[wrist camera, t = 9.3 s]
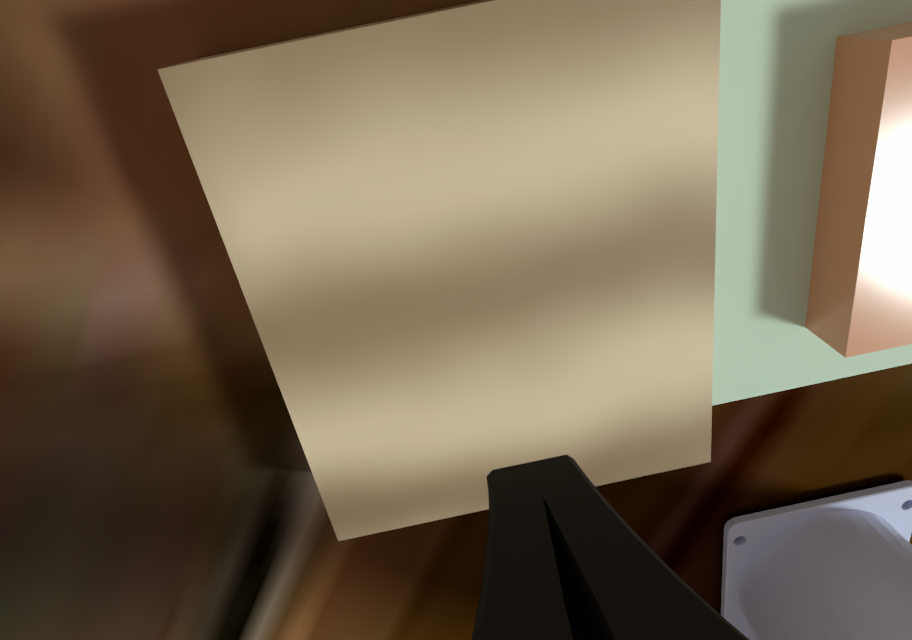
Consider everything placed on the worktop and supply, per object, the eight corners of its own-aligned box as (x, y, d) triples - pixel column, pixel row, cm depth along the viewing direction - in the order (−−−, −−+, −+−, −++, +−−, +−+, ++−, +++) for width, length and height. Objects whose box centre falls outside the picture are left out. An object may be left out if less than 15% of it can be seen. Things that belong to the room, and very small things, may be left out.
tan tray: (671, 406, 22) (710, 461, 19) (343, 476, 22) (338, 541, 19) (663, -38, 15) (722, -47, 13) (197, 58, 15) (157, 69, 13)
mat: (968, 343, 22) (977, 348, 22) (698, 400, 22) (703, 407, 22) (1085, -124, 16) (1102, -128, 15) (702, -45, 15) (710, -47, 15)
